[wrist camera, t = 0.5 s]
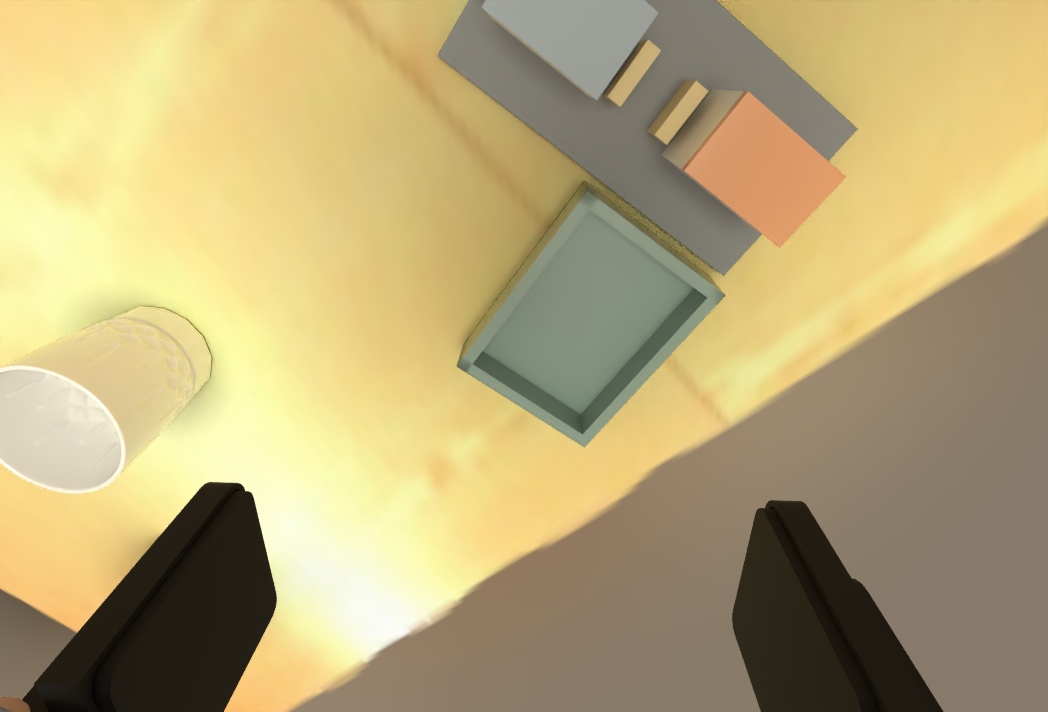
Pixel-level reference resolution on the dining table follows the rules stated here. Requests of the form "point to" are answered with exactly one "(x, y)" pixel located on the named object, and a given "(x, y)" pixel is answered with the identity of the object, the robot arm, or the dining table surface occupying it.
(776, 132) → the block
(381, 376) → the dining table surface
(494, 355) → the tray
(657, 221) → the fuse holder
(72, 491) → the white cup
